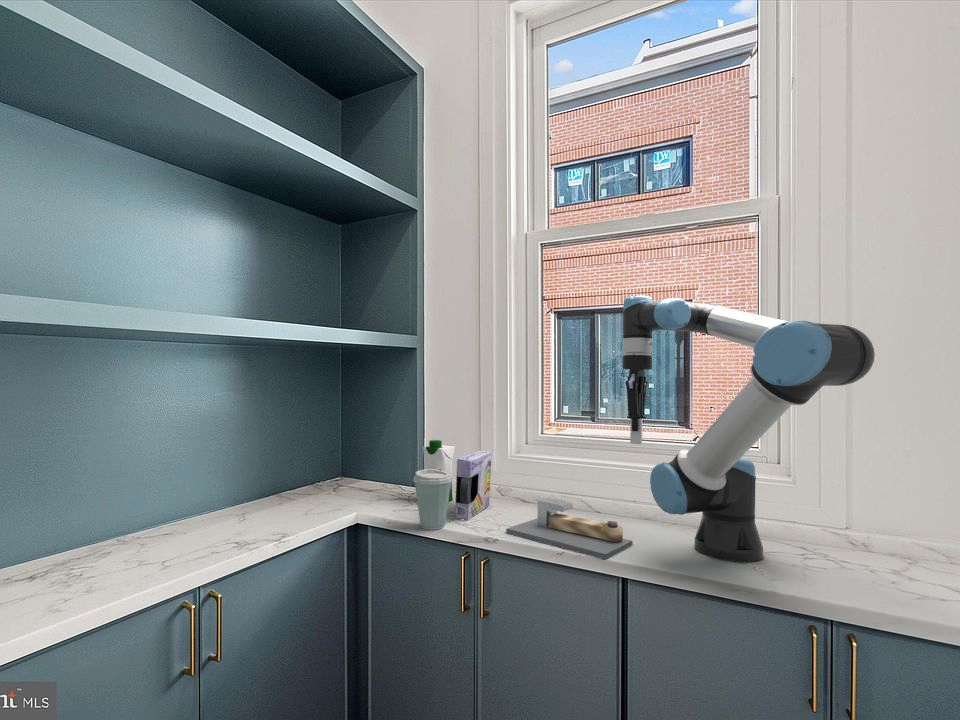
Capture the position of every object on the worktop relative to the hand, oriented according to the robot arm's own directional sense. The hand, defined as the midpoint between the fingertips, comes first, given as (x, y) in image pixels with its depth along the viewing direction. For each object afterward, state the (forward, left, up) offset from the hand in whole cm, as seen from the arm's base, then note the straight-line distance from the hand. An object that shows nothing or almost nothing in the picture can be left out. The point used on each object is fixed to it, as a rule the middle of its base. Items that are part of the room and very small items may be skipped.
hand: (636, 443), depth 142 cm
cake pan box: (+46, +13, -25) cm, 54 cm away
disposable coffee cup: (+44, +32, -25) cm, 60 cm away
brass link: (+8, +11, -23) cm, 27 cm away
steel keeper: (+18, +11, -24) cm, 32 cm away
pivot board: (+12, +15, -24) cm, 31 cm away
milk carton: (+64, +10, -25) cm, 69 cm away
